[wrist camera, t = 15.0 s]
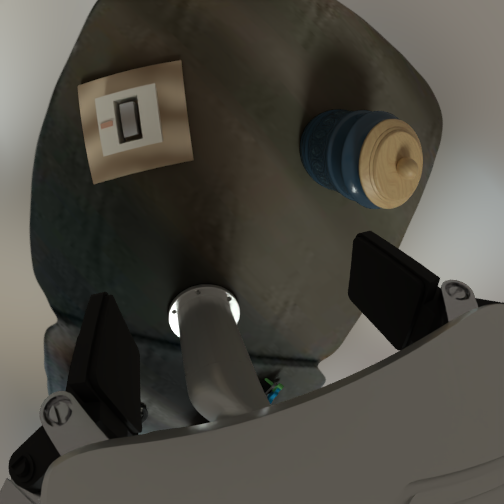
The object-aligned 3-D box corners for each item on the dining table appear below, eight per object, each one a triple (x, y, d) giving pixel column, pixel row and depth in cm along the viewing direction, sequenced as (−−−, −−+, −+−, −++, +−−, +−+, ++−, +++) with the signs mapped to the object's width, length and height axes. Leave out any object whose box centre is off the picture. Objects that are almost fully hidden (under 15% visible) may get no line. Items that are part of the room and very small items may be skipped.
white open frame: (163, 139, 32) (162, 142, 27) (112, 152, 30) (102, 156, 26) (156, 89, 29) (154, 82, 24) (104, 102, 27) (94, 98, 23)
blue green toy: (262, 408, 65) (253, 424, 55) (245, 395, 66) (233, 409, 57) (288, 380, 64) (283, 394, 54) (270, 366, 66) (262, 378, 56)
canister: (292, 112, 36) (370, 113, 21) (360, 107, 39) (445, 115, 24) (302, 193, 43) (373, 237, 28) (365, 180, 45) (442, 213, 30)
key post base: (192, 158, 36) (197, 164, 30) (96, 182, 33) (84, 192, 28) (180, 62, 29) (183, 51, 24) (80, 87, 26) (66, 81, 21)
